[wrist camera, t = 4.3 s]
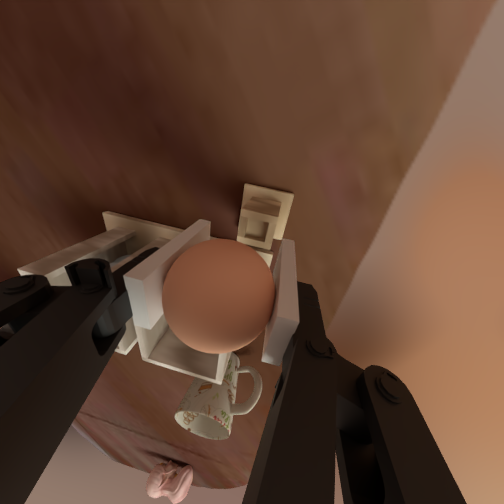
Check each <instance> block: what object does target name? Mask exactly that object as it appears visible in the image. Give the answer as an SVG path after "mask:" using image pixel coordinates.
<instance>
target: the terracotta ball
mask: <svg viewBox="0 0 504 504" xmlns="http://www.w3.org/2000/svg"><path fill="white" fill-rule="evenodd" d="M274 302H275V283H274V279H273V276H272V273H271V271H270V269H269V267H268V265H267V263H266V262H265V260H264V259H263V258H262V257H261V256H260V255H259V254H258V253H257V252H256V251H255V250H253V249H252V248H251V247H249V246H247V245H246V244H243V243H241V242H238V241H235V240H229V239H212V240H207V241H203V242H201V243H198V244H196V245H194V246H192V247H190V248H189V249H188V250H186V251H185V252H184V253H182V254H181V255H180V256H179V257H178V259H177V260H176V261H175V262H174V263H173V265H172V266H171V268H170V270H169V271H168V273H167V276H166V279H165V281H164V285H163V291H162V307H163V312H164V316H165V319H166V321H167V323H168V325H169V327H170V329H171V330H172V332H173V333H174V334H175V335H176V336H177V337H178V338H179V339H180V340H181V341H182V342H183V343H185V344H186V345H187V346H189V347H191V348H193V349H195V350H198V351H201V352H205V353H212V354H221V353H228V352H232V351H235V350H238V349H240V348H242V347H244V346H246V345H248V344H249V343H250V342H252V341H253V340H254V339H256V338H257V337H258V336H259V334H260V333H261V332H262V331H263V330H264V328H265V327H266V325H267V324H268V322H269V320H270V318H271V315H272V311H273V307H274Z"/></svg>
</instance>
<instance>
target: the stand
mask: <svg viewBox="0 0 504 504" xmlns="http://www.w3.org/2000/svg"><path fill="white" fill-rule="evenodd" d="M293 197H294V194H293V193H289V192H284V191H280V190H275V189H270V188H266V187H261V186H257V185H252V184H247V183H246V184H245V186H244V193H243V200H242V207H241V214H240V220H239V227H238V236H237V241H238V242H241V243H243V244H247V245H251V246H255V247H259V248H263V249H267V250H270V248H271V244H272V240H273V238H275V239H279V240H282V236H283V233H284V229H285V226H286V222H287V218H288V215H289V211H290V208H291V204H292V201H293Z"/></svg>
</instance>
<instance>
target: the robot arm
mask: <svg viewBox="0 0 504 504" xmlns="http://www.w3.org/2000/svg"><path fill="white" fill-rule="evenodd" d="M210 226H211V221H207V220H202V219H199V220H198V221H197V222H195V223H194V224H193V225H191V226H190V227H188V228H187V229H186V230H184V231H183V232H182V233H180V234H179V235H178V236H176V237H175V238H173V239H172V240H171V241H169V242H168V243H167V244H165V245H164V246H163V247H161V248H158V247H153V248H151V249H148V250H145V251H144V252H142V253H141V254H139V255H138V256H136V257H135V258H133V259H132V260H131V261H129V262H127V263H126V264H124V265H123V266H121V267H120V268H118V269H117V270H115V271H114V272H112V271H111V267H110V263H109V262H108V261H107V260H105V259H100V258H88V259H82V260H78V261H75V262H72V263H70V264H68V265H66V266H64V268H65V270H66V272H67V275H68V277H69V280H70V282H71V284H72V286H51V285H50V283H49V281H48V279H47V277H45V276H43V275H37V274H31V275H22V276H18V277H14V278H11V279H8V280H5V281H3V282H0V328H1V327H2V326H3V327H2V328H1V329H0V504H24V503H25V502H26V500H27V498H28V496H29V495H30V493H31V491H32V490H33V488H34V486H35V485H36V483H37V481H38V480H39V478H40V476H41V474H42V473H43V471H44V469H45V468H46V466H47V464H48V463H49V461H50V459H51V458H52V456H53V454H54V452H55V451H56V449H57V447H58V446H59V444H60V442H61V441H62V439H63V437H64V436H65V434H66V432H67V431H68V429H69V427H70V425H71V424H72V422H73V420H74V419H75V417H76V415H77V414H78V412H79V410H80V409H81V407H82V405H83V403H84V402H85V400H86V398H87V397H88V395H89V393H90V392H91V390H92V388H93V387H94V385H95V383H96V381H97V380H98V378H99V376H100V375H101V373H102V371H103V370H104V368H105V366H106V365H107V363H108V361H109V359H110V358H111V356H112V354H113V353H114V351H115V349H116V348H117V346H118V344H119V343H120V341H121V339H122V337H123V336H124V334H125V331H126V324H125V323H126V322H127V321H128V320H129V319H130V318H131V317H133V321H134V325H135V326H139V327H143V328H146V329H150V330H151V329H152V327H153V326H154V325H155V324H156V322H157V321H158V320H159V318H160V317H161V316H162V315H163V313H164V312H163V307H162V291H163V285H164V281H165V279H166V276H167V273H168V271H169V270H170V268H171V266H172V265H173V263H174V262H175V261H176V260H177V259H178V257H179V256H180V255H181V254H182V253H184V252H185V251H186V250H188V249H189V248H190V247H192V246H194V245H196V244H198V243H201V242H203V241H207V240H210ZM273 279H274V283H275V302H274V307H273V311H272V315H271V318H270V320H269V322H268V324H267V325H266V331H265V339H264V346H263V354H262V361H263V362H266V363H270V364H273V365H277V366H280V364H281V362H282V360H283V363H282V373H281V375H280V377H279V379H278V381H277V384H276V386H275V388H276V390H275V394H274V397H273V400H272V404H271V407H270V411H269V414H268V417H267V421H266V424H265V427H264V431H263V434H262V438H261V441H260V444H259V448H258V451H257V455H256V458H255V461H254V465H253V468H252V471H251V475H250V478H249V482H248V485H247V488H246V492H245V495H244V498H243V502H242V504H334V491H335V450H336V455H337V462H338V468H339V475H340V482H341V488H342V495H343V501H344V504H467V503H466V502H465V499H464V497H463V496H462V494H461V491H460V490H459V488H458V485H457V484H456V482H455V480H454V478H453V476H452V474H451V472H450V470H449V468H448V466H447V464H446V462H445V460H444V458H443V456H442V454H441V452H440V450H439V448H438V446H437V444H436V442H435V440H434V438H433V436H432V434H431V432H430V430H429V428H428V426H427V424H426V422H425V420H424V418H423V416H422V414H421V412H420V410H419V408H418V406H417V404H416V402H415V400H414V398H413V396H412V394H411V393H410V392H409V390H408V388H407V387H406V385H405V384H404V383H403V382H402V381H401V380H400V379H399V378H398V377H397V376H396V375H394V374H393V373H392V372H390V371H389V370H387V369H385V368H383V367H380V366H375V365H371V366H369V367H367V368H366V369H365V370H363V369H361V368H360V367H358V366H356V365H354V364H352V363H351V362H349V361H347V360H346V359H344V358H343V357H341V356H340V355H339V354H338V353H337V351H336V349H335V347H334V345H333V344H332V342H331V341H330V340H329V339H327V338H326V335H325V330H324V325H323V320H322V315H321V310H320V305H319V302H318V301H319V300H318V295H317V292H316V290H315V289H314V288H313V286H312V285H310V284H306V283H302V282H298V281H297V275H296V259H295V244H294V241H293V240H288V239H284V238H283V239H282V243H281V246H280V250H279V253H278V257H277V261H276V264H275V268H274V271H273Z"/></svg>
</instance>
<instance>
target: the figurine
mask: <svg viewBox="0 0 504 504" xmlns="http://www.w3.org/2000/svg"><path fill="white" fill-rule="evenodd" d="M177 467H178V465H177V464H175V463H173V462H172V460H170V461H169V462H168V463H167V464H165V463H160V464H157V465H156V466H155V467H154V469H153V470H152V471H151V473H150V476H149V478H148V481H147V484H146V491H147V493H148V495H149V496H150V497H152V498H158V497H160V496H168V498H169V499H170V501H171V502H172V503H173V504H177V503H178V502H180V501H182V500H183V499H184V498H185V497H186V495H187V492H188V490H189V487H190V485H191V483H192V479H193V470H192V466H191V465H187V466H184V467H183V468H182V469H181V470H180V472H179V473H178V474H176V471H177Z"/></svg>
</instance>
